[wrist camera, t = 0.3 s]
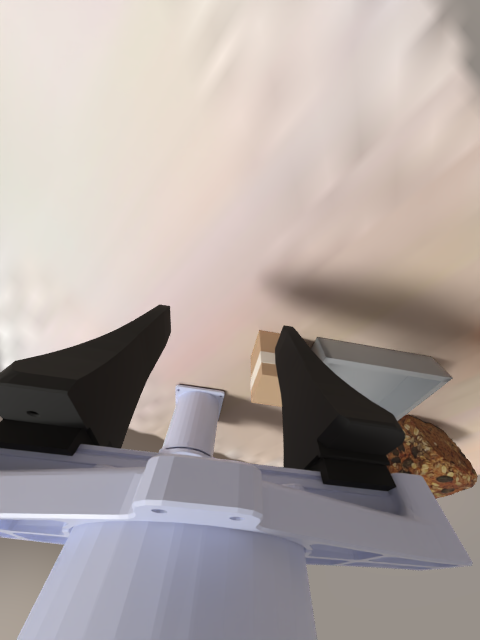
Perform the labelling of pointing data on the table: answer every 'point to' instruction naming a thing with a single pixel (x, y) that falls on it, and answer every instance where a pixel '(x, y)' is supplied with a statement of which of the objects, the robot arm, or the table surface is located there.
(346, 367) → the bin
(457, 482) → the bread
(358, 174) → the table surface
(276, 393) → the carton
